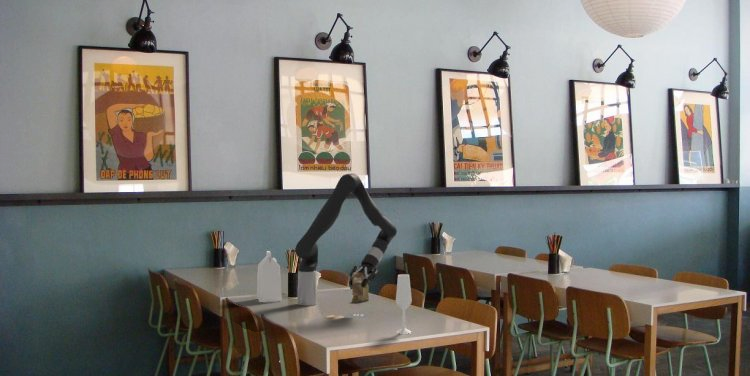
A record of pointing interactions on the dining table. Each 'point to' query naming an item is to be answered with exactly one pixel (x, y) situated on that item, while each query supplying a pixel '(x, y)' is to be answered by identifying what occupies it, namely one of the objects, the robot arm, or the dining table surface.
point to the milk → (269, 280)
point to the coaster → (333, 317)
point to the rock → (362, 298)
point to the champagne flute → (403, 298)
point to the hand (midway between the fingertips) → (356, 285)
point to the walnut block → (358, 284)
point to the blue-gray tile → (358, 315)
